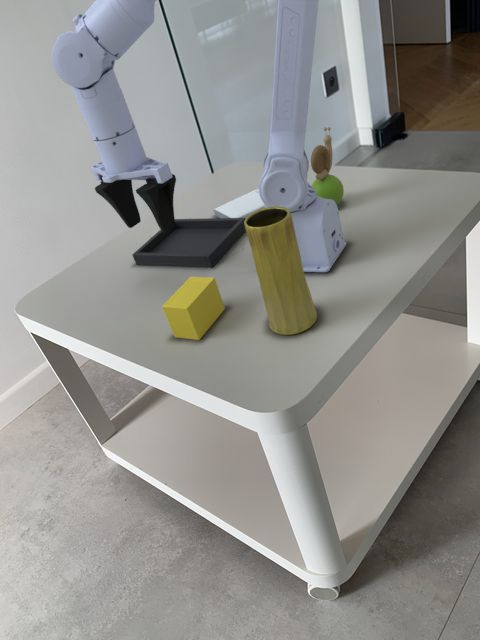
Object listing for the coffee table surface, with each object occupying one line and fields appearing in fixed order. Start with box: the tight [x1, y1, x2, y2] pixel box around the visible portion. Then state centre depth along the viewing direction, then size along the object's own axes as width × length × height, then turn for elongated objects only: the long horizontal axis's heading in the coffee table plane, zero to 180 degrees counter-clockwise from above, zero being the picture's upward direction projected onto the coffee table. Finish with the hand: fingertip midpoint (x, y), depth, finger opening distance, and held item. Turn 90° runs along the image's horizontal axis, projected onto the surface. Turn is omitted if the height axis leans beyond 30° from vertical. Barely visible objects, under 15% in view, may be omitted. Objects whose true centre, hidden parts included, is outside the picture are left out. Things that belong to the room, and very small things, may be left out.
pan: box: [131, 217, 246, 268], centre depth 93 cm, size 16×13×2 cm
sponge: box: [161, 276, 226, 341], centre depth 73 cm, size 4×7×5 cm, turn 154°
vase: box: [244, 206, 318, 336], centre depth 65 cm, size 6×6×14 cm
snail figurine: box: [310, 126, 345, 205], centre depth 90 cm, size 5×6×12 cm
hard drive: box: [212, 187, 265, 218], centre depth 100 cm, size 2×8×12 cm
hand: (151, 226), depth 80 cm, fingers open, 7 cm apart
